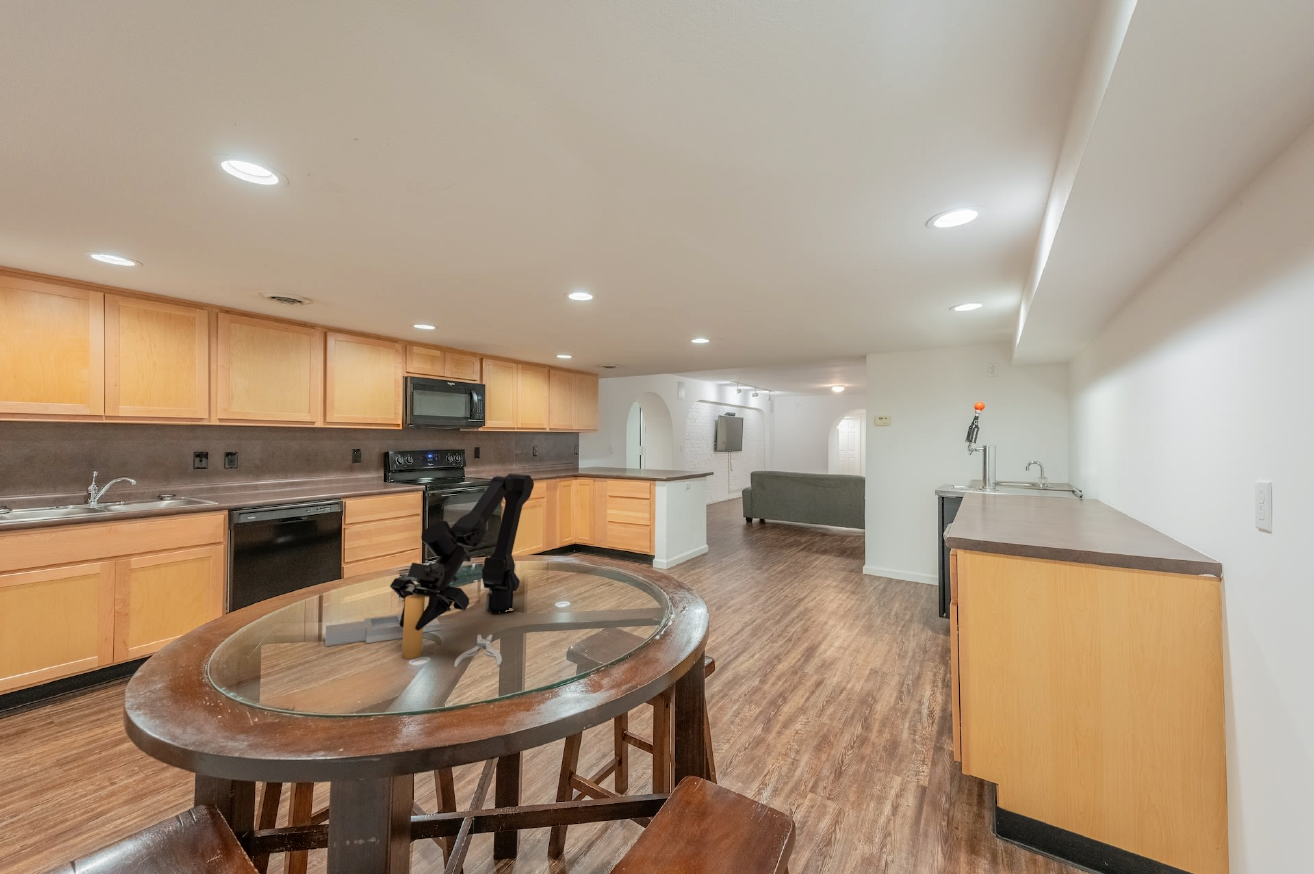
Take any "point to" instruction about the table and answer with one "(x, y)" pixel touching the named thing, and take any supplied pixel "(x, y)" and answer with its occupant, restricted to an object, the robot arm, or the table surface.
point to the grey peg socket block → (370, 630)
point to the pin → (412, 627)
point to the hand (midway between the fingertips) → (408, 627)
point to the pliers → (480, 644)
